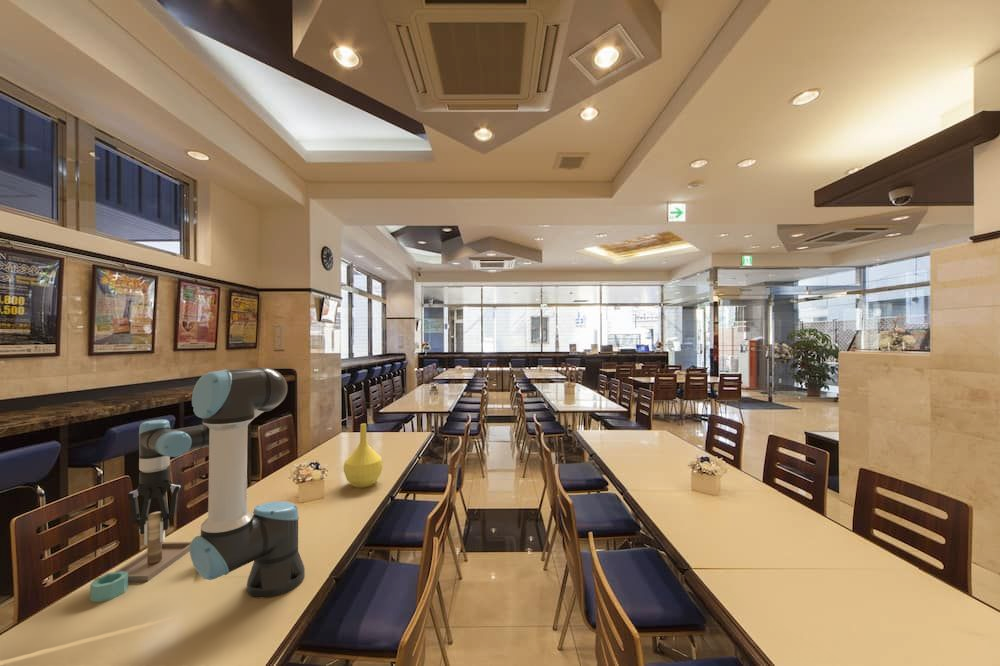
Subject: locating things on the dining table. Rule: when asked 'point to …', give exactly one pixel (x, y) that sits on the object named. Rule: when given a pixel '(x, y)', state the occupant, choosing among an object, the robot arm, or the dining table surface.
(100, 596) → the ring
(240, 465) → the robot arm
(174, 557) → the tray
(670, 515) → the dining table surface
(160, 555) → the dowel
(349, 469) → the vase
